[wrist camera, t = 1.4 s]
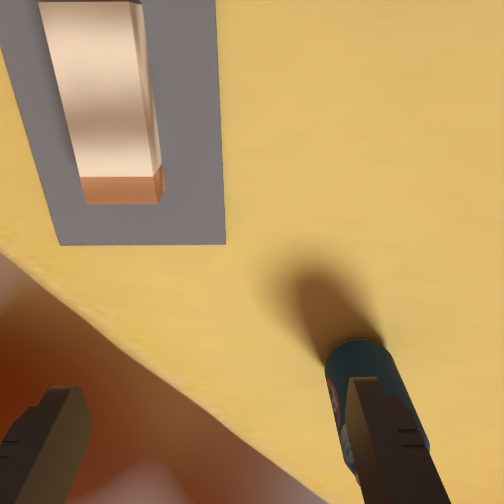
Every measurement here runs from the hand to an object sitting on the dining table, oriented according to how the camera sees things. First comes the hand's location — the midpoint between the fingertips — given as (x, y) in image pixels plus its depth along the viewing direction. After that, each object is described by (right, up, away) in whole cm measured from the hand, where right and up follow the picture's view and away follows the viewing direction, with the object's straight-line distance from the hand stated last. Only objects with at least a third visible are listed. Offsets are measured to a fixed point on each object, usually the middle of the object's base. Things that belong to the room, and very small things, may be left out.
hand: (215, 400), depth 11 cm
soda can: (+12, -7, +28) cm, 31 cm away
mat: (-8, +15, +16) cm, 23 cm away
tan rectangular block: (-8, +14, +15) cm, 23 cm away
